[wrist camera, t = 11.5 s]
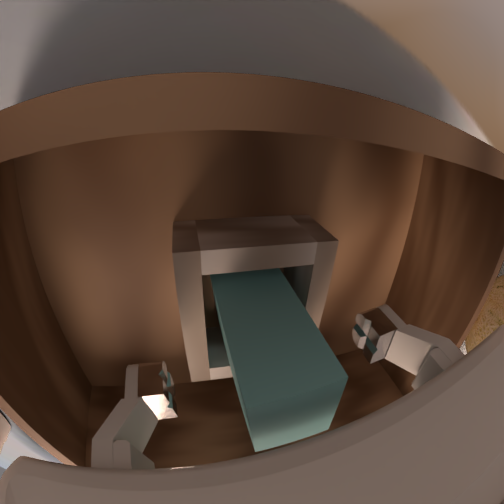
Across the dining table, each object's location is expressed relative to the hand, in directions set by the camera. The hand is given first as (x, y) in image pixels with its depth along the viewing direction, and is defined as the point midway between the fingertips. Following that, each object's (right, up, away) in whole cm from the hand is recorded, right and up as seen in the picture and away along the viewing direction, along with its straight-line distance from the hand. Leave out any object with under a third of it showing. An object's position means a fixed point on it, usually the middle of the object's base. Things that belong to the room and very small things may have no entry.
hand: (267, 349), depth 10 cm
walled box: (-1, +3, +5) cm, 6 cm away
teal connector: (-1, +2, +4) cm, 5 cm away
